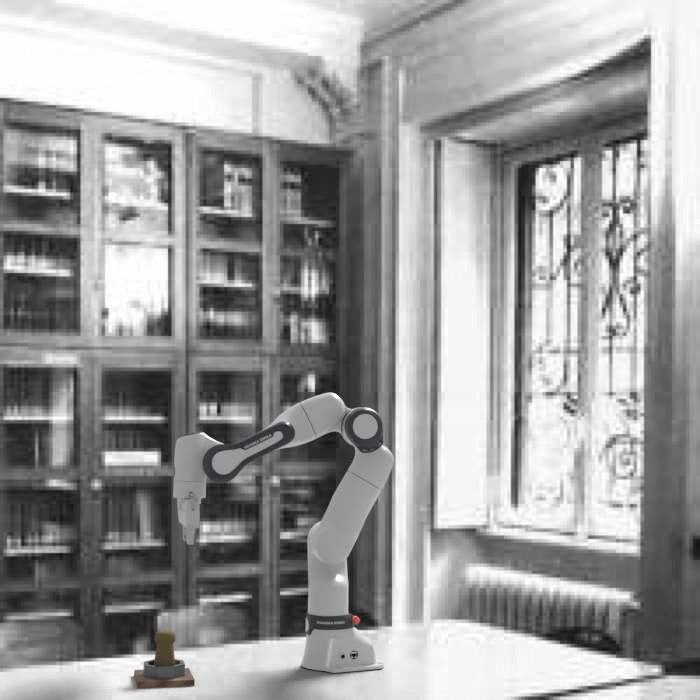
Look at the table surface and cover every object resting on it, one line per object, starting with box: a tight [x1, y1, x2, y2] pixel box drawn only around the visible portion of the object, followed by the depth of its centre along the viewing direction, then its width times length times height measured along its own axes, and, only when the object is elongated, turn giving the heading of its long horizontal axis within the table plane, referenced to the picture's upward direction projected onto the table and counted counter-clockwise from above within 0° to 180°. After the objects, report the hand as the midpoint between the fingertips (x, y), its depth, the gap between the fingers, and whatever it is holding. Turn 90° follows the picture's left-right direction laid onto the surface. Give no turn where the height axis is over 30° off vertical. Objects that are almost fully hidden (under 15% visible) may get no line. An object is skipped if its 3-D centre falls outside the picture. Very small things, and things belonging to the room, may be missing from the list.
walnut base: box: [133, 667, 195, 689], centre depth 277 cm, size 14×14×2 cm
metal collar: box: [142, 658, 186, 679], centre depth 278 cm, size 10×10×3 cm
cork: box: [154, 629, 176, 666], centre depth 278 cm, size 6×6×11 cm
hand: (188, 542), depth 297 cm, fingers open, 8 cm apart
